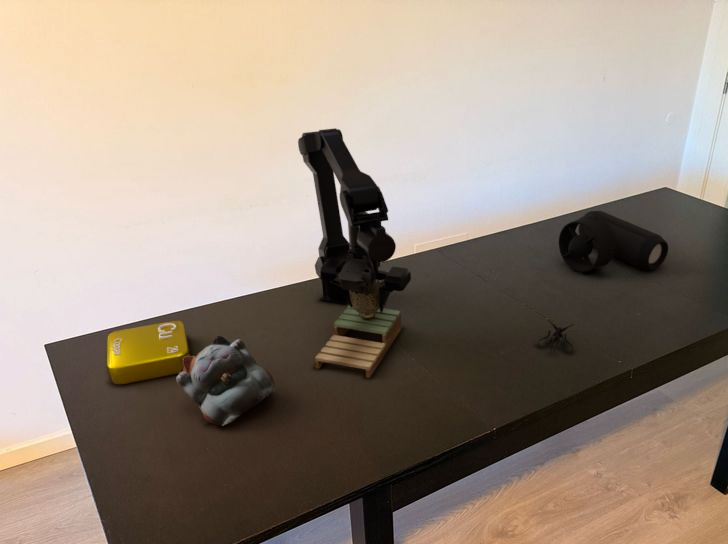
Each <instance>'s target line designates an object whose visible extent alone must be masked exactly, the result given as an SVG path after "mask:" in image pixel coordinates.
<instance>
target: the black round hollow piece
mask: <svg viewBox="0 0 728 544" xmlns="http://www.w3.org/2000/svg"><path fill="white" fill-rule="evenodd" d="M584 215H585V214H584ZM584 215H583V216H581V217H579V218H578V219H575V220H573V221H570V222H568V223H567V224H566V225H564V226H563V228H561V231H560V232H559V237H558V248H559V253H560V255H561V258H562V259H563V261H564V263H565V264H566V265H567V266H568V267H569V268H571V269H572V271H574V272H576V273H578V274H586V273H589V272H591V271H592V270H594V269H598V268H601V267H602V268H603V267H605V266H607V265H608V264H609V263H610V262H611V261H612V259H613V258H614V257H615V256H614V253H615V250H616V240H615V235H614V232H613V230H612V228H611V227H610V225H609V224H608V223H607V222H606V221H605V220H604V219H603V218H601V217H599V216H597V215H592V214H590V215H585V216H584ZM579 224H581V225H584V226H585V227H587V228H588V229H589V230H590V231H591V232H592V233H593V235H594V236H593V237H591V238H590V237H589V236H587V235H586V234H578V233H577V232H576V230H577V228H578V227H579ZM593 239H596V242H597V246H598V248H597V255H596V256H597V257H596V259H595V262H594V263H593V262H592V261H591V259H590V255H591V254H592V253H593V249H594V246H593V243H592V240H593Z"/></svg>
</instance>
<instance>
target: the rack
mask: <svg viewBox="0 0 728 544" xmlns="http://www.w3.org/2000/svg"><path fill="white" fill-rule="evenodd" d="M346 307H347V308H345V309H344V311H342V313H341V314H340V315H339V316H338V319H336V320H335V321H334V323H333V335H331V337H330V338H329V340H328V341H327V342H325V345H324V346H323V347H322V348H321V350H320V352H318V354H316V356H315V358H314V359H315V361H314V367H315V369H318V370H319V369H320V368H321V367H322V366H323V364H324V363H327V364H333V365H339V366H343V367H344V366H345V367H349V368H356V369H362V370H365V378H368V379H370V378H371V377H372V375H373V374H374V372H375V371H376V369H377V367H378V366H379V365H380V363H381V361H382V360H383V358H384V357H385V355H386V354H387V352H388V350H389V348H390V347H391V346H392V344H393V343H394V341H395V340H396V339H397V336H398V335H399V334H400V332H401V330H402V313H401V310H397V309H395V310H394V309H391V308H390V309H389V308H384V310H383V312H380V308H379V309H378V310H377V311H376V315H375V317H374V318H373V319H370V320H364V319H362V318H360V316H359V313H358V312H357V311H356V310H355V309H354V308H353V307H350V305H349V304H348V306H346ZM350 330H354V331H360V332H367V333H373V334H379V335H381V337H382V342H379V341H373V340H366V339H361V338H356V337H355V338H354V337H348V336H346V335H347V333H348V332H349V331H350Z"/></svg>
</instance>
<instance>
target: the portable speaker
mask: <svg viewBox="0 0 728 544" xmlns="http://www.w3.org/2000/svg"><path fill="white" fill-rule="evenodd" d="M590 214H592V215H597V216H599V217H601V218H603V219H604V220H605V221H606V222H607V223H608V224H609V225H610V227H611V228H612V230H613V232H614V235H615V240H616V250H615V253H614V256H613V257H616V258H618V259H619V260H622V261H624V262H626V263H628V264H630V265H632V266H634V267H637V268H638V269H641V270H646V271H647V270H651V271H652V270H653V271H655V270H656V269H659V268H660V267H661V265H663V263H664V261H665V260H666V259H667V256H668V252H669V243H668V242H667V240H665V239H664V238H663V237H662V235H660V234H658V233H656V232H653V231H651V230H648V229H646V228H644V227H641V226H639V225H637V224H634V223H632V222H629V221H627V220H624V219H622V218H619V217H617V216H616V215H612V214H611V213H607V212H605V211H602V210H590V211H588V212H586V213H585V214H584V215H583V216H585V215H590ZM580 234H586V235H587V236H589V237H590V238H591V237H593V236H594V235H593V233H592V232H591V231H590V230H589V229H588V228H587V227H585V226H584V225H581V224H579V225H578V235H580ZM592 243H593V248H596V249H598V246H597V242H596V239H593V240H592Z"/></svg>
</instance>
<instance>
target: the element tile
mask: <svg viewBox="0 0 728 544" xmlns="http://www.w3.org/2000/svg"><path fill="white" fill-rule="evenodd" d="M189 348H190V347H189V342H188V337H187V333H186V329H185V325H184V323H183V322H182V321H181V320H171V321H166V322H160V323H155V324H153V323H152V324H148V325H141V326H136V327H131V328H126V329H119V330H114V331H111V333H109V334H108V336H107V349H106V351H107V355H106V357H107V358H106V359H107V360H106V365H107V369H108V372H109V375H110V378H111V381H112V383H113V384H116V385H126V384H133V383H136V382H138V383H139V382H141V381H143V382H144V381H147V380H151V379H153V380H154V379H157V378H163V377H167V376H173V375H177V374H178V375H179V373H180V371H181V370H182V366H183V357H186V356H191V354H190V349H189Z"/></svg>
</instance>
